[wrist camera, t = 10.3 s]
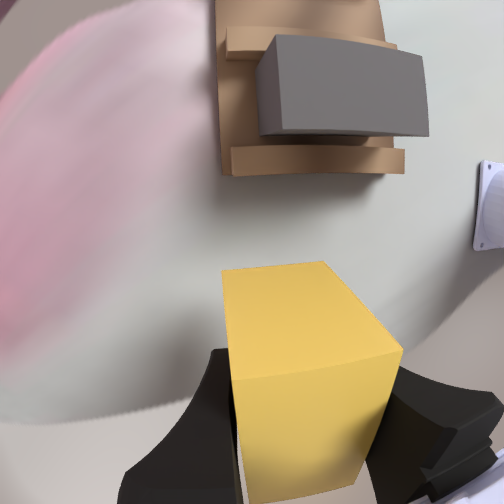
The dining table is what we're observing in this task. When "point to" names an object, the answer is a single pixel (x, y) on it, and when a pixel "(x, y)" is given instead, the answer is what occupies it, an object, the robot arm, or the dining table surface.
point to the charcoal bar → (339, 89)
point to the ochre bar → (304, 378)
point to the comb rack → (245, 99)
